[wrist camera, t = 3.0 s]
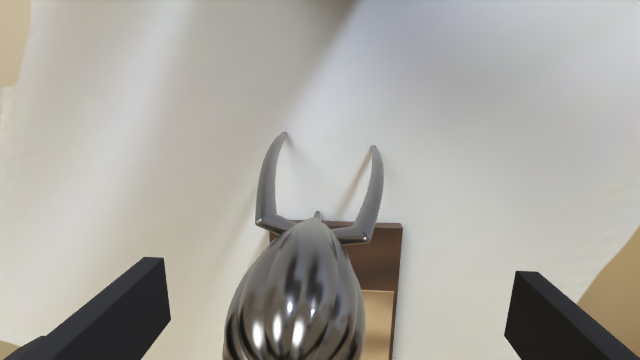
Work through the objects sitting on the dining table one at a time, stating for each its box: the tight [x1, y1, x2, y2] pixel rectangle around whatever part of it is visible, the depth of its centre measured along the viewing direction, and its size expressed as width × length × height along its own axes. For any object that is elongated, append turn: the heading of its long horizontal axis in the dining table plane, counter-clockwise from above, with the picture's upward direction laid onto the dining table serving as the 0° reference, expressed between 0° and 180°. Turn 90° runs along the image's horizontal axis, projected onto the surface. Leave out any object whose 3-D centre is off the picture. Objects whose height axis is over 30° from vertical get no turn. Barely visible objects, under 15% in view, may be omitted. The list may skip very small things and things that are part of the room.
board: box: [269, 220, 403, 360], centre depth 41 cm, size 22×16×2 cm
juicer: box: [222, 132, 384, 360], centre depth 23 cm, size 10×11×30 cm
